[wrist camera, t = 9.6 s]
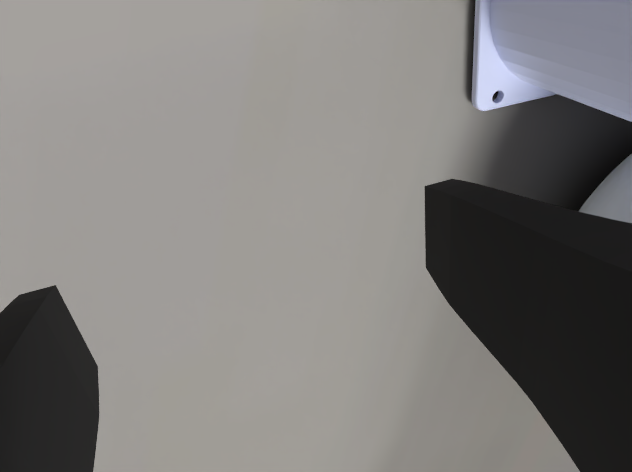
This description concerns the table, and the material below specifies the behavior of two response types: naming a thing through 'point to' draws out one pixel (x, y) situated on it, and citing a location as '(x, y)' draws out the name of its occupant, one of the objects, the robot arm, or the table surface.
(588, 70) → the robot arm
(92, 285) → the table surface
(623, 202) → the serving bowl
